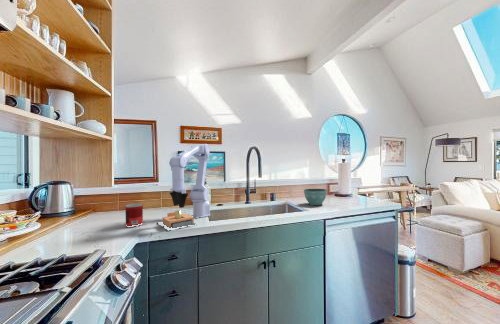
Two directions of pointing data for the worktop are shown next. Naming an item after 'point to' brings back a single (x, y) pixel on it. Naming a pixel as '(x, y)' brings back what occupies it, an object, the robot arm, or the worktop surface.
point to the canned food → (134, 214)
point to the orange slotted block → (171, 219)
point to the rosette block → (182, 223)
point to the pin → (178, 214)
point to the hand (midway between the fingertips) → (178, 206)
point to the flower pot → (315, 196)
